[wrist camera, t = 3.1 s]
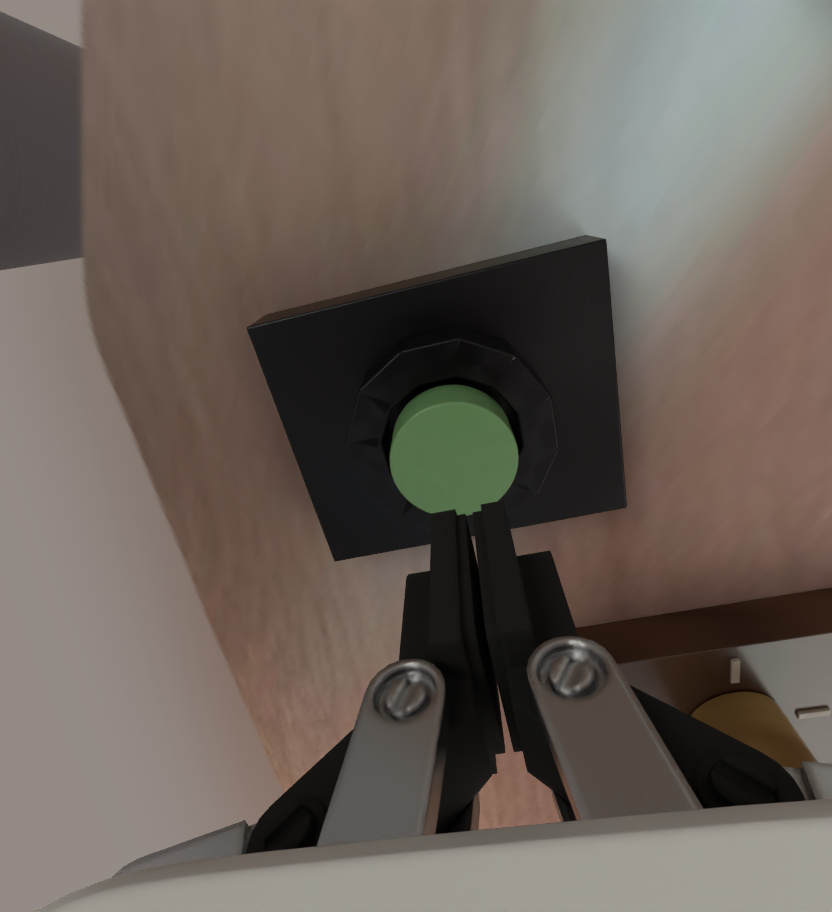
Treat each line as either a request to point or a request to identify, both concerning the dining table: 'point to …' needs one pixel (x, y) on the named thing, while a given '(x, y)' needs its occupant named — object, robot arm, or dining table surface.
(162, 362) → the dining table surface
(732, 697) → the dimmer knob
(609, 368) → the switch box
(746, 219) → the dining table surface
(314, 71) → the dining table surface
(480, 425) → the power button
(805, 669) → the dimmer panel
